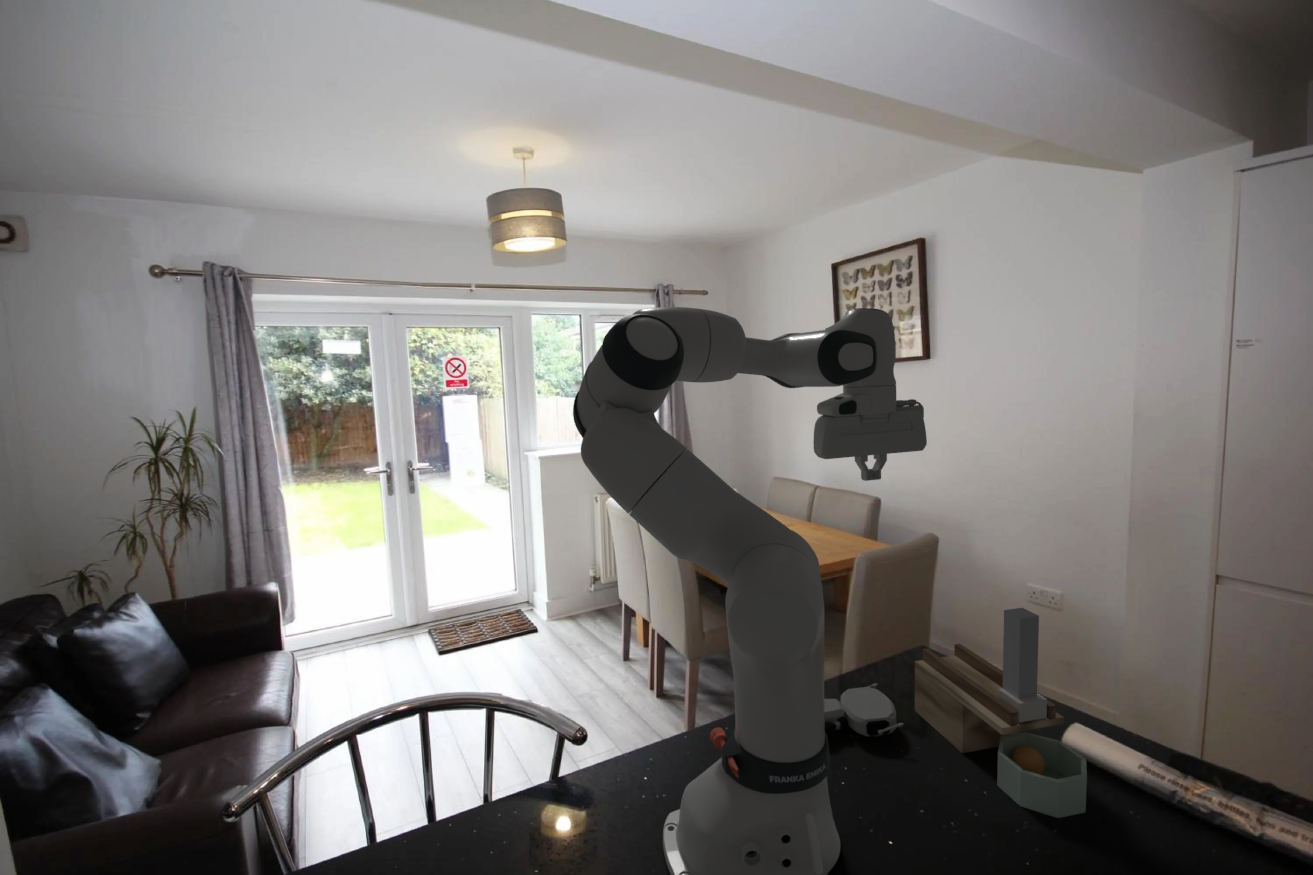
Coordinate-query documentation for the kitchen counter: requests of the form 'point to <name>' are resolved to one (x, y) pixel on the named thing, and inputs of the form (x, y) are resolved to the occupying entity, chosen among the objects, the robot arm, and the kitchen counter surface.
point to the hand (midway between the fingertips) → (871, 479)
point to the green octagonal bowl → (1044, 776)
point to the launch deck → (968, 700)
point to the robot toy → (861, 712)
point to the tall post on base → (1021, 665)
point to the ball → (1029, 759)
